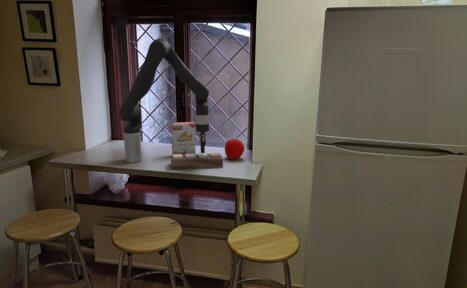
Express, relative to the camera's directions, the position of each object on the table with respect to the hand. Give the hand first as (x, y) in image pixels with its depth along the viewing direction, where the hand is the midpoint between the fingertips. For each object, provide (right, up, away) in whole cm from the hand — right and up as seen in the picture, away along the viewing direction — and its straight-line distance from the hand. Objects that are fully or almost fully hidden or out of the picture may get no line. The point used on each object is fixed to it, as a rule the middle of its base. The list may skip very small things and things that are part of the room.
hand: (202, 152), depth 189 cm
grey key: (-7, -4, 0) cm, 8 cm away
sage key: (0, -4, +1) cm, 4 cm away
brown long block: (-4, -7, +1) cm, 8 cm away
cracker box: (-14, -2, +22) cm, 26 cm away
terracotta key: (+7, -4, +3) cm, 8 cm away
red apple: (+18, -4, +16) cm, 24 cm away
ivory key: (-14, -4, -1) cm, 15 cm away
